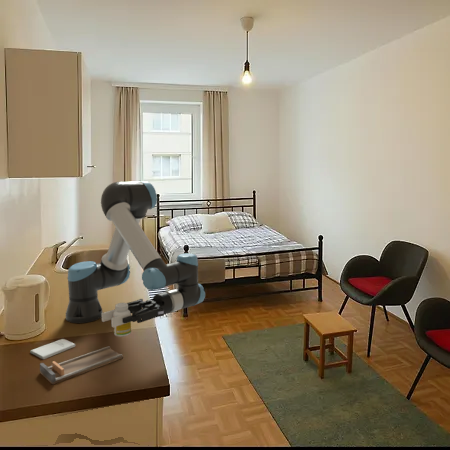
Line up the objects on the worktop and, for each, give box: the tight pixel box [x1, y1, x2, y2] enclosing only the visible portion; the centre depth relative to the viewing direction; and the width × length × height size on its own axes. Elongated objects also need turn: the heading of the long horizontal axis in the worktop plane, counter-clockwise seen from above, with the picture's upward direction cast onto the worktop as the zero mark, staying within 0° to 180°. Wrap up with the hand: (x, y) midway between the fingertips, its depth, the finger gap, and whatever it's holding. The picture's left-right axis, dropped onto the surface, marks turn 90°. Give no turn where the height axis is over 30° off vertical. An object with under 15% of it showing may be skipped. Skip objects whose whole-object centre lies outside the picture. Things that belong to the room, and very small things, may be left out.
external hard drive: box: [30, 338, 76, 360], centre depth 144 cm, size 2×8×12 cm
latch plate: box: [51, 360, 64, 376], centre depth 127 cm, size 7×1×2 cm, turn 45°
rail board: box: [39, 345, 124, 385], centre depth 133 cm, size 10×24×3 cm, turn 135°
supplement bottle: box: [113, 302, 132, 338], centre depth 130 cm, size 5×5×10 cm
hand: (107, 320), depth 126 cm, fingers closed on supplement bottle, 5 cm apart
